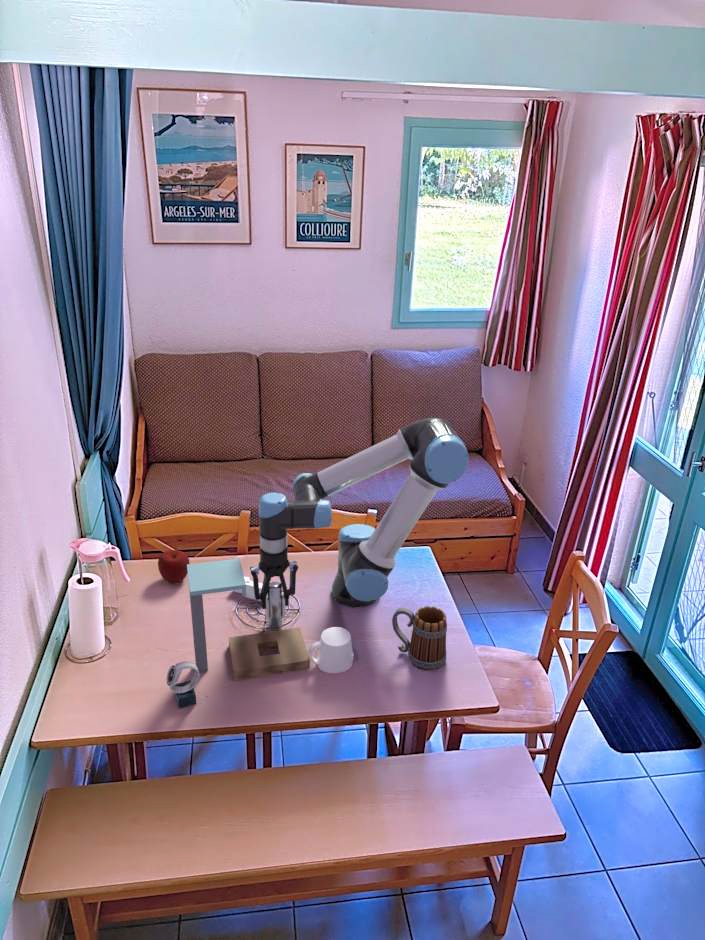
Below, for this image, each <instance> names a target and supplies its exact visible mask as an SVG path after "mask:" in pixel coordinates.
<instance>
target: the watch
mask: <svg viewBox="0 0 705 940" xmlns="http://www.w3.org/2000/svg"><path fill="white" fill-rule="evenodd" d="M187 669H192V670H195V671H194V674H193V676H192V677H191V679H190V680H186V681H183V682H179V680H180V677H181V674H182V672H183V670H187ZM200 678H201V674H200V672H199V671H198V668H197V666H196V663H194V662H191V661H182V662H178V663H176V664H172V665H171V666H170V667H169V669H168V670H167V674H166V685H167V686H169V689H170V690H171V691H172V692H173V693H174V695H175V699H176V702H177V706H178V709H183V708H186V707H191V706H194V705H197V695H196V691H195V689H194V688H195V687H196V686H197V684H198V682H199V681H200Z"/></svg>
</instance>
